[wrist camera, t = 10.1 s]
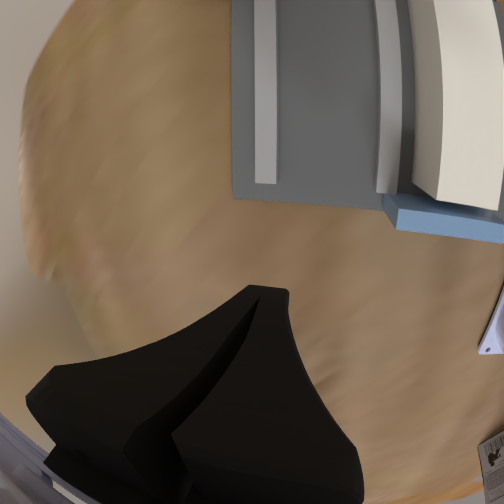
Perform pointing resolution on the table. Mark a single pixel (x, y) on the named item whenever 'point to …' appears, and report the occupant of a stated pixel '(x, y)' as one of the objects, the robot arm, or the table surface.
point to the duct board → (336, 112)
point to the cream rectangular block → (458, 101)
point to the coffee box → (493, 468)
